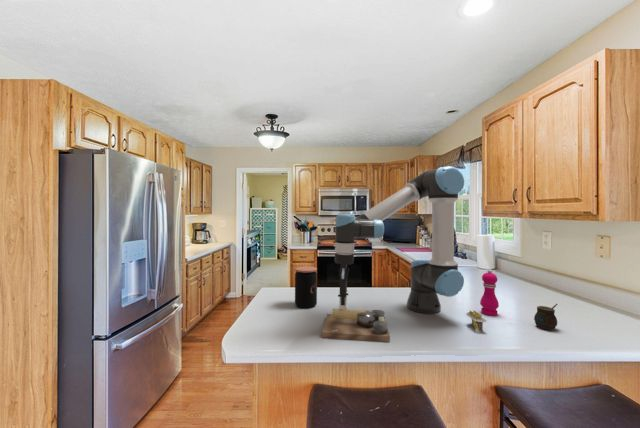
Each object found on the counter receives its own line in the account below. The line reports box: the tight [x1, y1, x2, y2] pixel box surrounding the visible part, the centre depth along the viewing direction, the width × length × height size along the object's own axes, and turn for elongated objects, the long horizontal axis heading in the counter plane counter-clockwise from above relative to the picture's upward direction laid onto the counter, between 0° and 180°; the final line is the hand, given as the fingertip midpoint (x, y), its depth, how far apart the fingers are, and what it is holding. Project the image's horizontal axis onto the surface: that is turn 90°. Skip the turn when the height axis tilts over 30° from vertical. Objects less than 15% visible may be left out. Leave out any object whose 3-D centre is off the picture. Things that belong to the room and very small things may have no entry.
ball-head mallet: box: [331, 308, 375, 327], centre depth 112 cm, size 16×7×5 cm, turn 80°
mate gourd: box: [533, 303, 558, 331], centre depth 114 cm, size 7×8×10 cm
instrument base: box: [321, 309, 391, 343], centre depth 111 cm, size 24×19×5 cm
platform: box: [466, 309, 487, 333], centre depth 113 cm, size 12×18×7 cm, turn 178°
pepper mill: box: [480, 268, 499, 317], centre depth 129 cm, size 7×7×20 cm
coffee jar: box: [294, 265, 318, 310], centre depth 139 cm, size 11×11×18 cm
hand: (342, 312), depth 114 cm, fingers closed
